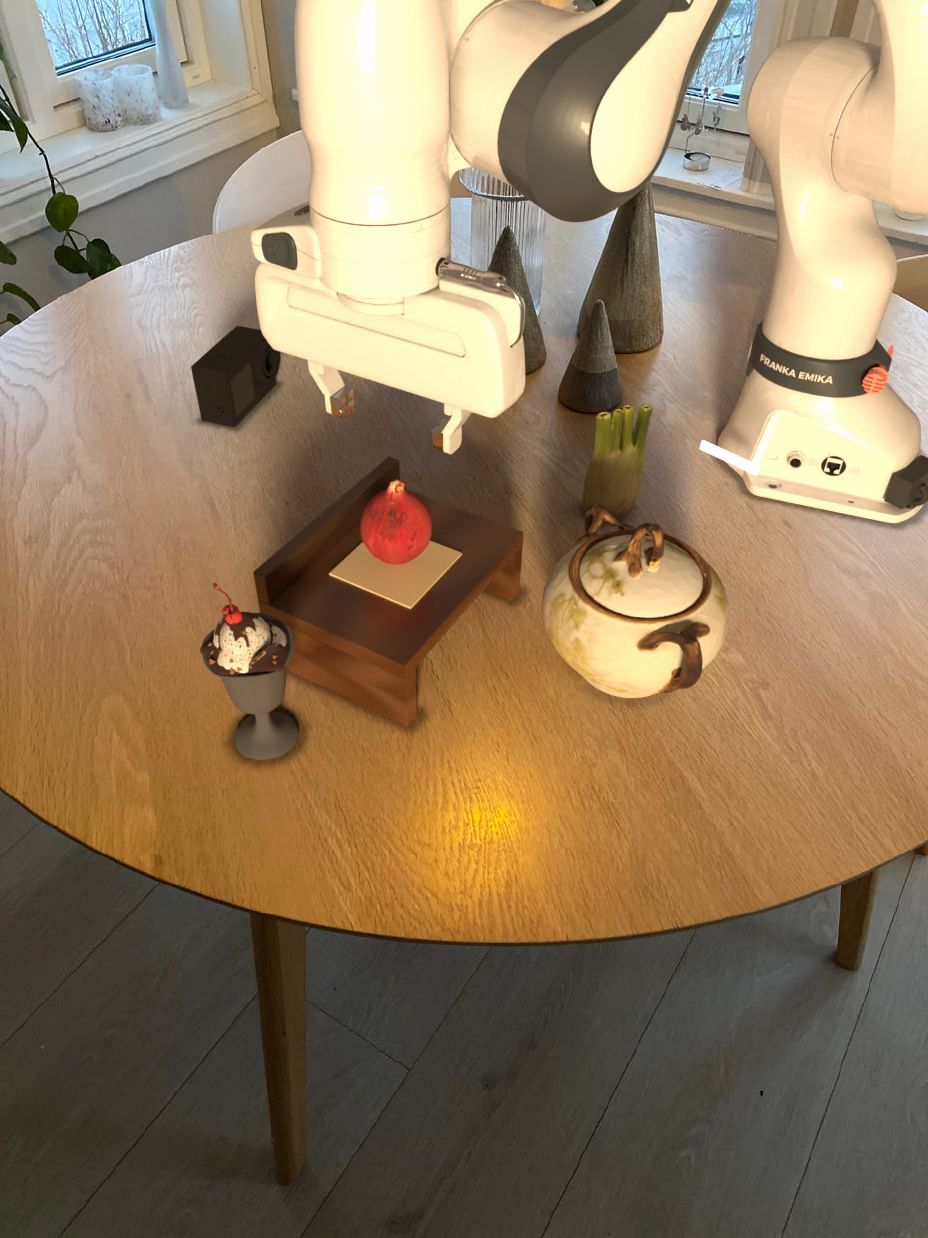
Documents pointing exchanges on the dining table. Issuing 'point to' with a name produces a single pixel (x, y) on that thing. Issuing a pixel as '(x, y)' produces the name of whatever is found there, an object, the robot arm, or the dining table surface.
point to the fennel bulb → (617, 460)
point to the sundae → (254, 677)
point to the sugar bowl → (634, 608)
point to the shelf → (381, 595)
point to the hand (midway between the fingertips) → (392, 429)
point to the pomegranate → (396, 525)
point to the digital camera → (235, 376)
